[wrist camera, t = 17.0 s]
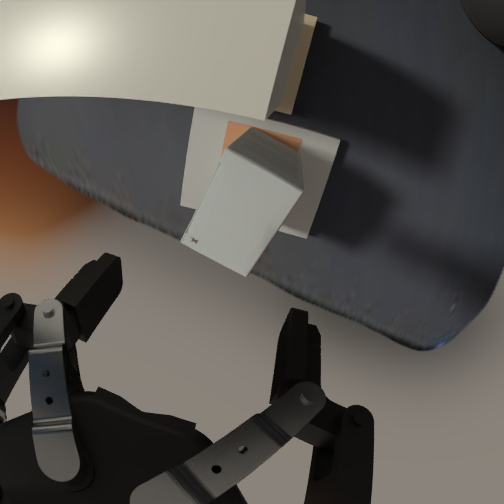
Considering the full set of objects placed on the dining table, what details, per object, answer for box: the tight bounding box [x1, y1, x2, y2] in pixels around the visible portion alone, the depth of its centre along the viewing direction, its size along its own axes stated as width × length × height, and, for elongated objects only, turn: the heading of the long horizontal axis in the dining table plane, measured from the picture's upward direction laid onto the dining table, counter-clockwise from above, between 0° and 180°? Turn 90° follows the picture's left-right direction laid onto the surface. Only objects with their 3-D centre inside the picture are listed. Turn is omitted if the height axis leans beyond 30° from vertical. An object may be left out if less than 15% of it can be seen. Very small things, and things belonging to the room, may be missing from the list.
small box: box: [181, 127, 304, 277], centre depth 23 cm, size 8×6×10 cm
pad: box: [180, 107, 340, 239], centre depth 28 cm, size 14×11×1 cm
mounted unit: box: [0, 0, 317, 121], centre depth 15 cm, size 24×10×18 cm, turn 77°
